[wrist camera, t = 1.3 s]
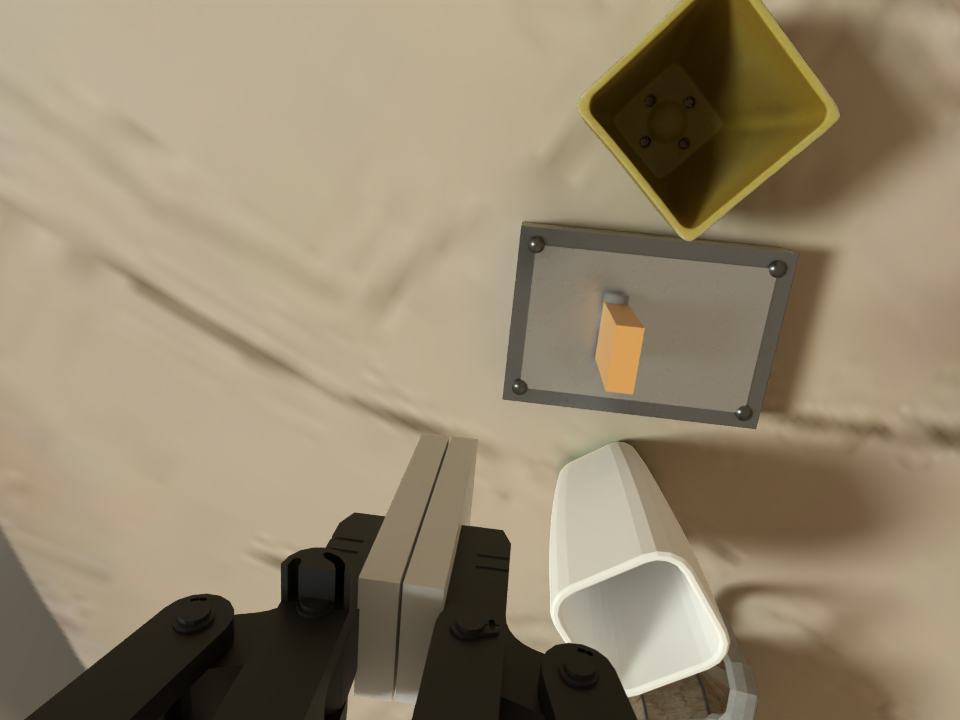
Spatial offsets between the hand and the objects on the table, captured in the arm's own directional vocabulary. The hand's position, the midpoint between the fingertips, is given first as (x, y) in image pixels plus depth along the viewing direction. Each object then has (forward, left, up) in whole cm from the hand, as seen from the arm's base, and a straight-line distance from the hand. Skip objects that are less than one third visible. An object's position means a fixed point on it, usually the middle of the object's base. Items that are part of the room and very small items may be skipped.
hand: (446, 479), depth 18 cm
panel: (0, +9, -24) cm, 26 cm away
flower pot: (-12, +9, -25) cm, 29 cm away
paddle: (0, +7, -20) cm, 22 cm away
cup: (+12, +9, -25) cm, 29 cm away
